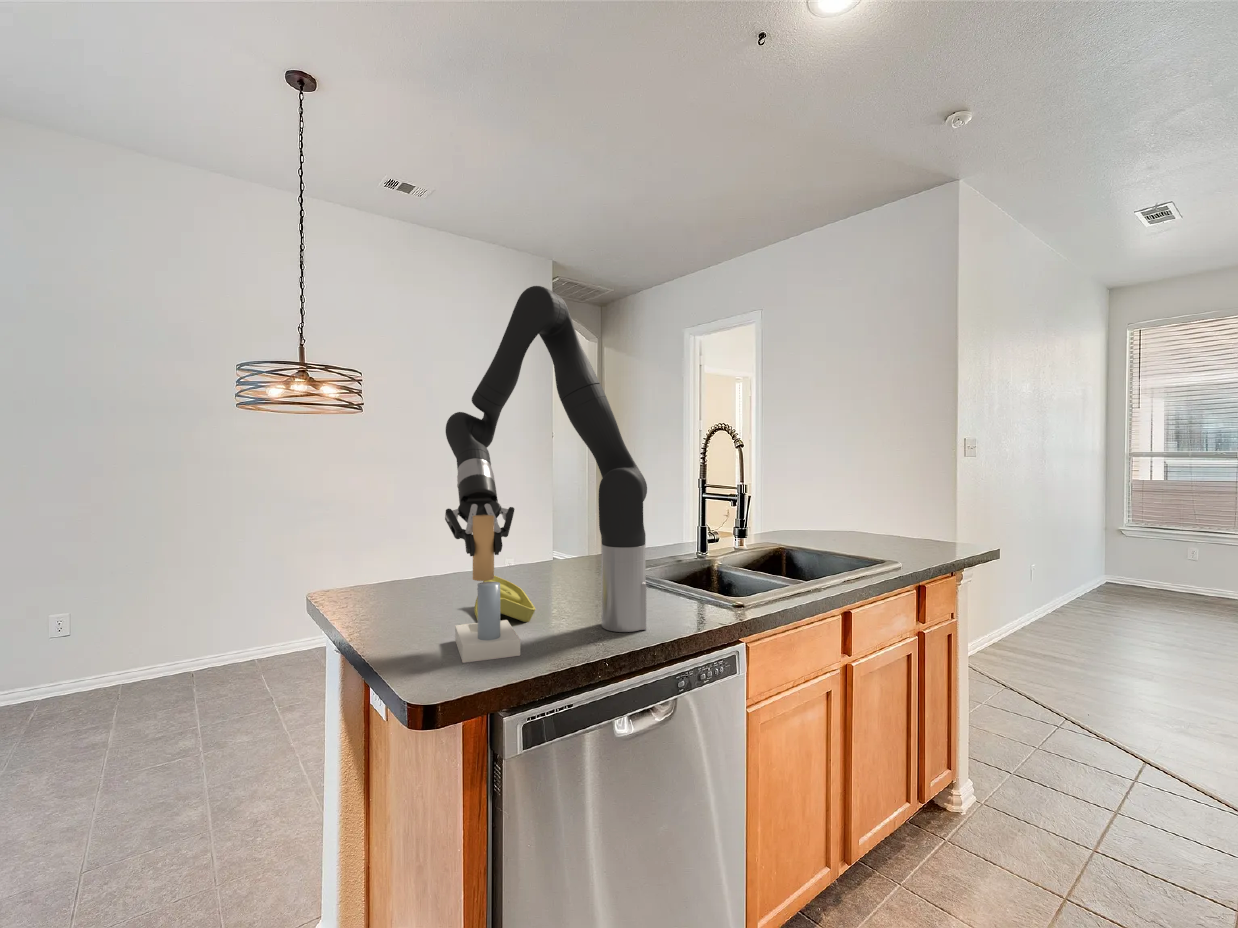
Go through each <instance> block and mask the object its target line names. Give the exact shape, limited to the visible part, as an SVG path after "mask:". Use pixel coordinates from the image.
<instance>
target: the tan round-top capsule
mask: <svg viewBox="0 0 1238 928" xmlns="http://www.w3.org/2000/svg"><path fill="white" fill-rule="evenodd" d="M472 534H473V537H474V546H475V553H474V556H472V580H473V581H479V582H483V581H487V580H492V579H494V576H495V554H494V515H475V516H473V533H472Z"/></svg>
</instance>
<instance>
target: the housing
mask: <svg viewBox="0 0 1238 928" xmlns="http://www.w3.org/2000/svg"><path fill="white" fill-rule="evenodd" d="M477 595H478V621H477V622H473V623H472V622H471V623H464V624H455V625H454V627H455V628H454V629H455V630H454V631H455V635H454V637H455V639H454V640H455V643H456V646H457V651H458V653H459V656H460V658H461V662H462V664H465V663H472V662H480V661H487V660H488V661H489V660H495V659H496V660H497V659H504V658H511V657H519V656H521V638H520V636H519V635H518V634H517V632H516V630H515V629H514V628H513V626H512V625H511V623H510V622H509V620H508V619H502V620H501V613H500V583H499V582H483V581H481V582H479V583H477Z"/></svg>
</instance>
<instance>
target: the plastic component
mask: <svg viewBox="0 0 1238 928" xmlns="http://www.w3.org/2000/svg"><path fill="white" fill-rule="evenodd" d="M482 582H499V583H500V614H501V615H505V616H507V617H509V618H513V619H516V620H519V621H520V622H524V623H528V622H531V619H532V617H533V616H534V613H535V611H536V607H535V605H534V604H533V602H532V601H531V600H530V598H529V597H528V595H527V594H526V592H525V591H524V590H523V589H522V588H521V587H519V586H518V585H516V584H515V583H513V582H511V581H509V580H507V579H504V578H502V577H500V576H497V575H494V579H492V580H487V581H482ZM474 603H475V604H474V609H473V610H474V615H475V617H476V621H477V622H478V594H477V596H476V599H475V602H474Z"/></svg>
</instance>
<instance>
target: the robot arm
mask: <svg viewBox="0 0 1238 928" xmlns="http://www.w3.org/2000/svg"><path fill="white" fill-rule="evenodd" d="M538 335H539V336H540V338H541V340H542V342H543V343H544V346H545V347H546V349H547V352H548V353H549V355H550V358H551V360H552V365H553V368H554V369H553V370H554V371H553V372H554V377H555V385H556V386H555V387H556V390H557V391H556V392H557V394H558V397H559V400H560V402H561V405H562V406H563V408H564V410H565V413H566V415H567V417H568V419H569V422H570V424H571V425H572V427H573V428H574V430H575V431H576V432H577V434H578V436H579V437H580V438H581V440H582V441H583V443H584V444H585V445H586V447H587V448H588V449H589V450H590V452H591V454H592V456H593V458H594V459H595V462H596V464H597V467H598V469H599V472H600V474H601V477H602V478H601V480H600V482H599V487H598V522H599V523H598V524H599V525H598V526H599V532H600V533H599V534H600V537H601V539H600V540H601V628H603V629H604V630H607V631H610V632H617V633H618V632H619V633H628V632H629V633H632V632H637V631H642V630H647V581H646V531H645V526H644V525H645V524H644V502H645V499H646V497H647V493H648V484H647V481H646V479H645V477H644V475H643V474H642V472H641V470H640V469H639V467H638V465H637V463H636V462H635V460H634V459H633V456H632V454H631V453H630V451H629V450H628V448H627V446H626V444H625V442H624V439H623V437H622V435H621V431H620V429H619V425H618V423H617V420H616V417H615V414H614V413H613V410H612V408H611V405H610V402H609V399H608V398H607V396H606V393H605V391H604V389H603V387H602V384H601V382H600V381H599V378H598V376H597V374H596V372H595V370H594V368H593V367H592V364H591V362H590V360H589V358H588V355H587V354H586V353H585V350H584V349H583V346H582V345H581V342H580V340H579V338H578V335H577V331H576V328H575V325H574V321H573V318H572V316H571V313H570V310H569V307H568V305H567V303H566V301H565V300H564V299H563V298H562V296H560V295H559V294H557V293H556V292H554V291H552V290H550V289H549V288H547V287H545V286H541V285H531V286H529V287H528V288H526V289H525V290H523V291H522V293H521V294H520V295H519V297H518V299H517V302H515V306H514V308H513V310H512V313H511V317H510V319H509V321H508V325H507V327H506V329H505V332H504V333H503V336H502V338H501V341H500V343H499V345H498V349H497V351H496V353H495V355H494V357H493V358H492V361H491V362H490V364H489V367H488V368H487V370H486V372H485V373H484V375H483V377H482V379H481V381H480V382H479V384H478V386H477V387H476V389H475V391H474V392H473V394H472V396H471V403H472V404H473V406H474V407H475V408H476V409H478V410H479V411H481V412H482V413H483V416H482V418H479V417H476V416H474V415H472V414H469V413H467V412H463V411H457V412H455V413H453V414H451V415H450V417H448V419H447V421H446V424H445V437H446V440H447V442H448V445H449V447H450V449H451V451H452V453H453V455H454V457H455V458H456V468H457V469H456V470H457V476H456V478H457V479H456V481H457V482H456V483H457V485H456V487H457V492H458V493H457V494H458V501H459V506H458V508H457V509H451V508H446V509H445V514H444V520H445V522H446V524H447V525H448V527H449V529H450V531H451V534H452V535H453V537H454V538H455V539H456V540H460V539H461V540H463V541H464V545H465V552H466V554H469V557H473V556H474V553H475V546H474V537H473V516H475V515H494V556H499V554H500V553H501V552H502V549H503V541H502V538H507V537H508V536H509V534H510V529H511V527H512V526H511V525H512V522H513V519H514V514H515V507H513V506H509V507H508V508H505V507H502V505H501V504H500V503H499V501H498V500H499V499H498V494H497V486H496V480H495V475H494V471H493V468H492V463H491V457H490V452H489V449H488V447H489V446H490V445H491V444H492V442H493V440H494V437H495V433H496V428H497V425H498V422H499V420H500V419H499V418H500V415H501V413H502V410H503V408H504V407H505V405H506V403H507V402H508V400H509V399H510V397H511V395H512V393H513V392H514V390H515V388H516V385H517V383H518V380H519V377H520V373H521V368H522V364H523V361H524V358H525V356H526V353H527V351H528V349H529V348H530V346H531V345H532V343H533V341H535V338H536V337H537V336H538ZM500 515H501V516H502V520H504V524H503V526H502V527H500V525H499V523H498V519H497V518H498V517H499V516H500ZM459 517H460V518H461V519H462V520H463V521H465V523H466V527H465V529H464V528H462V526H461V524H460V522H459V521H458V519H459Z"/></svg>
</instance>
